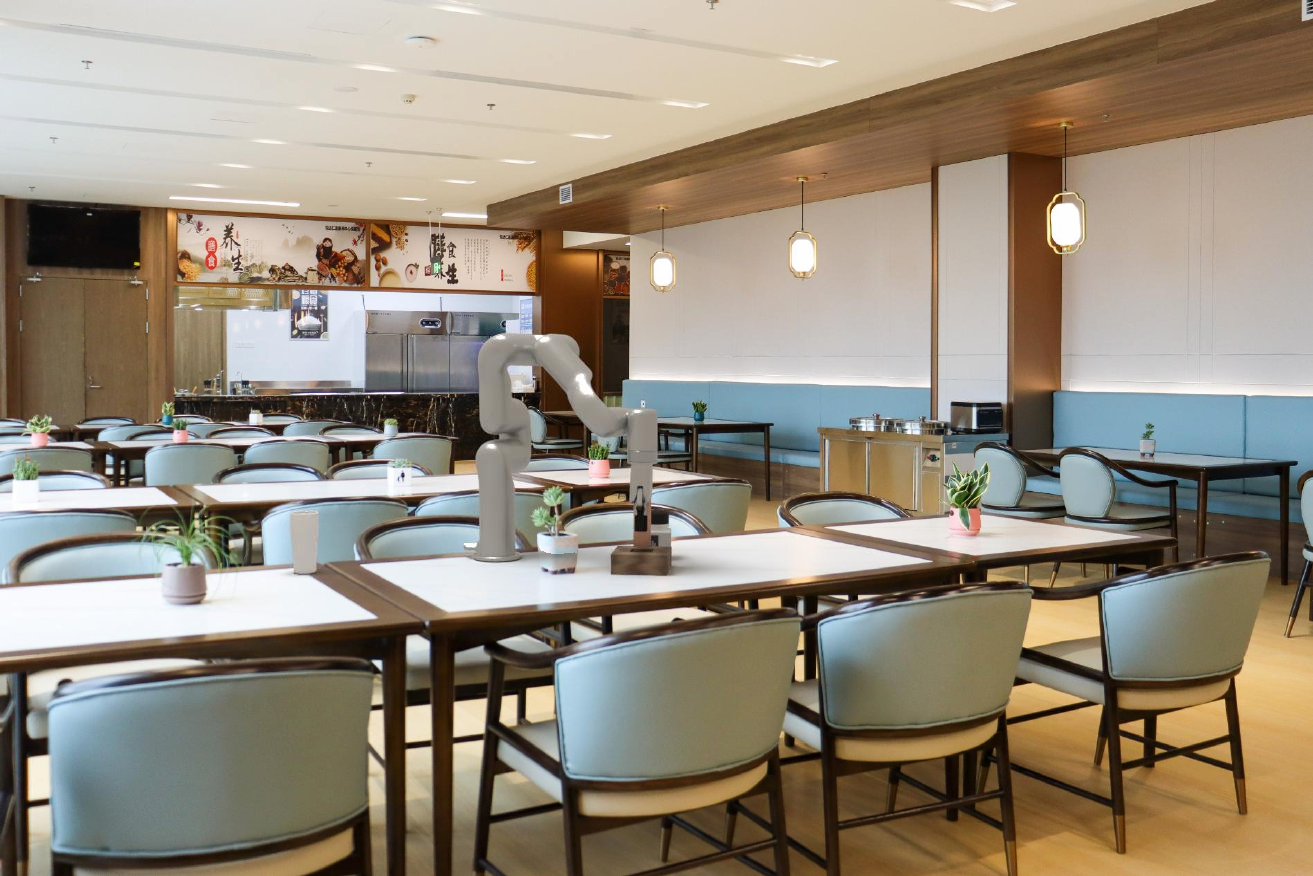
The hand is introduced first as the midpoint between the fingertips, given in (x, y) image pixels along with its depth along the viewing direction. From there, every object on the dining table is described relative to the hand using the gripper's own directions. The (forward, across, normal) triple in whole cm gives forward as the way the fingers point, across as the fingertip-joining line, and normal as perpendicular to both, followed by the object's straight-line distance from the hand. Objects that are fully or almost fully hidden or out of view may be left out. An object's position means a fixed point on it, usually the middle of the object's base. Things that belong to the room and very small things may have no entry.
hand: (642, 529), depth 292 cm
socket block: (+10, 0, 0) cm, 10 cm away
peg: (+4, 0, 0) cm, 4 cm away
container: (+11, -19, +2) cm, 22 cm away
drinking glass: (+11, +14, -82) cm, 84 cm away
